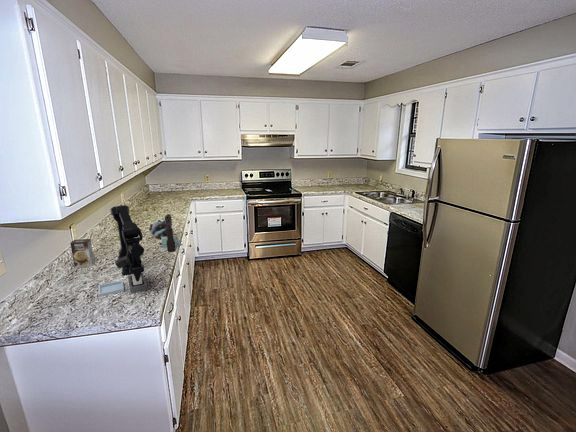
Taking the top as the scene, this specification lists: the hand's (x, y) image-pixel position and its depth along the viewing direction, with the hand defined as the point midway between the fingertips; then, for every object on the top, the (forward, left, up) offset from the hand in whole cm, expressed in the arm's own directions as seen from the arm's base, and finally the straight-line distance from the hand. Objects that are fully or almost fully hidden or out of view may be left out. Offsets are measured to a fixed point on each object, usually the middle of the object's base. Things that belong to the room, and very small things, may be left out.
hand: (137, 279), depth 156 cm
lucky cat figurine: (-87, +25, -6) cm, 90 cm away
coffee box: (-50, -25, -6) cm, 56 cm away
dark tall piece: (-59, +27, -6) cm, 65 cm away
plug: (0, 0, -2) cm, 2 cm away
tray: (-6, -12, -6) cm, 14 cm away
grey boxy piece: (-4, 0, -6) cm, 7 cm away
